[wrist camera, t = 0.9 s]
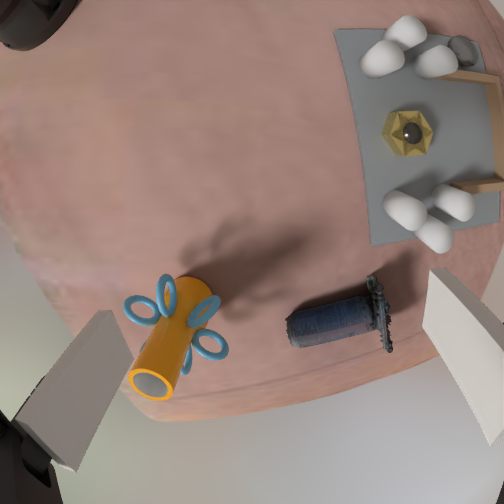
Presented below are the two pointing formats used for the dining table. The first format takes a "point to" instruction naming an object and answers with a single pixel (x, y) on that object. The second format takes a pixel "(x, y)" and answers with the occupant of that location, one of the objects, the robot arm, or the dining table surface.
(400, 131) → the nut
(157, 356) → the cylinder
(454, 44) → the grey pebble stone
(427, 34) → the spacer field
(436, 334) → the robot arm
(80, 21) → the dining table surface
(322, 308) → the dark piece
